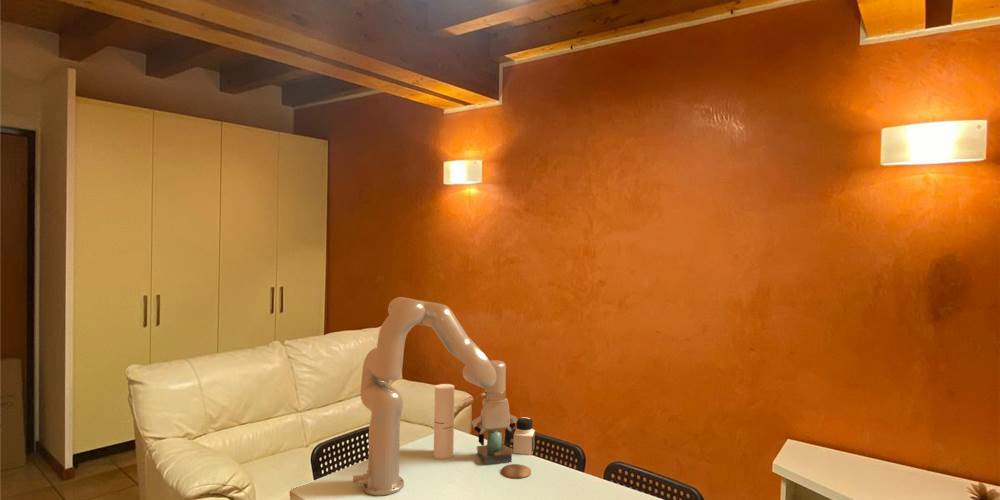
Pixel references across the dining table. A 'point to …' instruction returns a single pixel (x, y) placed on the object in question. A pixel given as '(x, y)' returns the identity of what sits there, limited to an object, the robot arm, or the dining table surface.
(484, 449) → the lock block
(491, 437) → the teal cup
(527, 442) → the medicine bottle
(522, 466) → the coaster
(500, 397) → the robot arm
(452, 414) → the cylindrical container
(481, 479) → the dining table surface
